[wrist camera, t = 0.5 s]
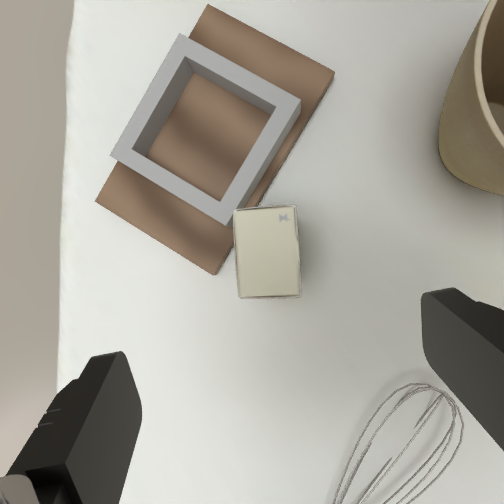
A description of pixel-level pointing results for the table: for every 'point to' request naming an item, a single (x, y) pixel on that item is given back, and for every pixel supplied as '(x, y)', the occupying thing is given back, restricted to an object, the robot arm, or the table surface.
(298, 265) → the skincare box
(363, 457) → the kitchen whisk
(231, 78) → the collar
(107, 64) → the table surface
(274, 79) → the board
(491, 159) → the plant pot
